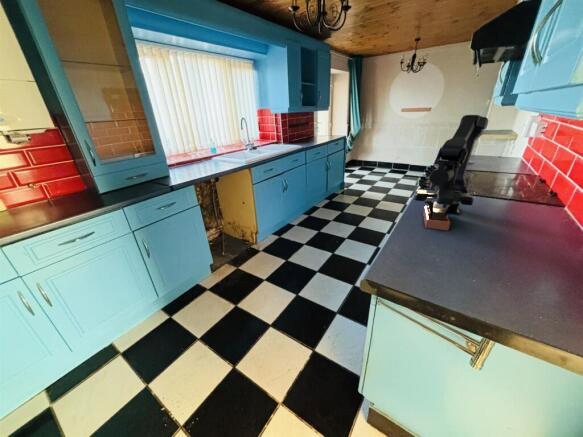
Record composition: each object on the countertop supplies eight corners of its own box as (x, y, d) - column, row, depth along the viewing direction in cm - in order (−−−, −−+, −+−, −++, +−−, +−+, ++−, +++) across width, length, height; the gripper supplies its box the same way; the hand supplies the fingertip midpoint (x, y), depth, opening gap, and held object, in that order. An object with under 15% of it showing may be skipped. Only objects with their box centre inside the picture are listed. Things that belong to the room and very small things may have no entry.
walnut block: (430, 217, 96) (432, 208, 95) (442, 218, 95) (444, 209, 93) (431, 221, 93) (433, 211, 91) (443, 222, 92) (445, 213, 90)
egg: (440, 214, 102) (443, 200, 99) (441, 219, 98) (445, 204, 95) (427, 213, 104) (430, 199, 101) (428, 217, 100) (431, 203, 97)
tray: (425, 227, 93) (427, 219, 92) (423, 213, 106) (424, 206, 104) (448, 230, 90) (450, 222, 89) (443, 215, 103) (445, 207, 101)
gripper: (418, 183, 84) (411, 222, 91) (482, 187, 77) (470, 229, 83) (417, 175, 93) (411, 211, 100) (474, 178, 86) (463, 217, 93)
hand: (437, 217), depth 94 cm, fingers closed on walnut block, 4 cm apart
